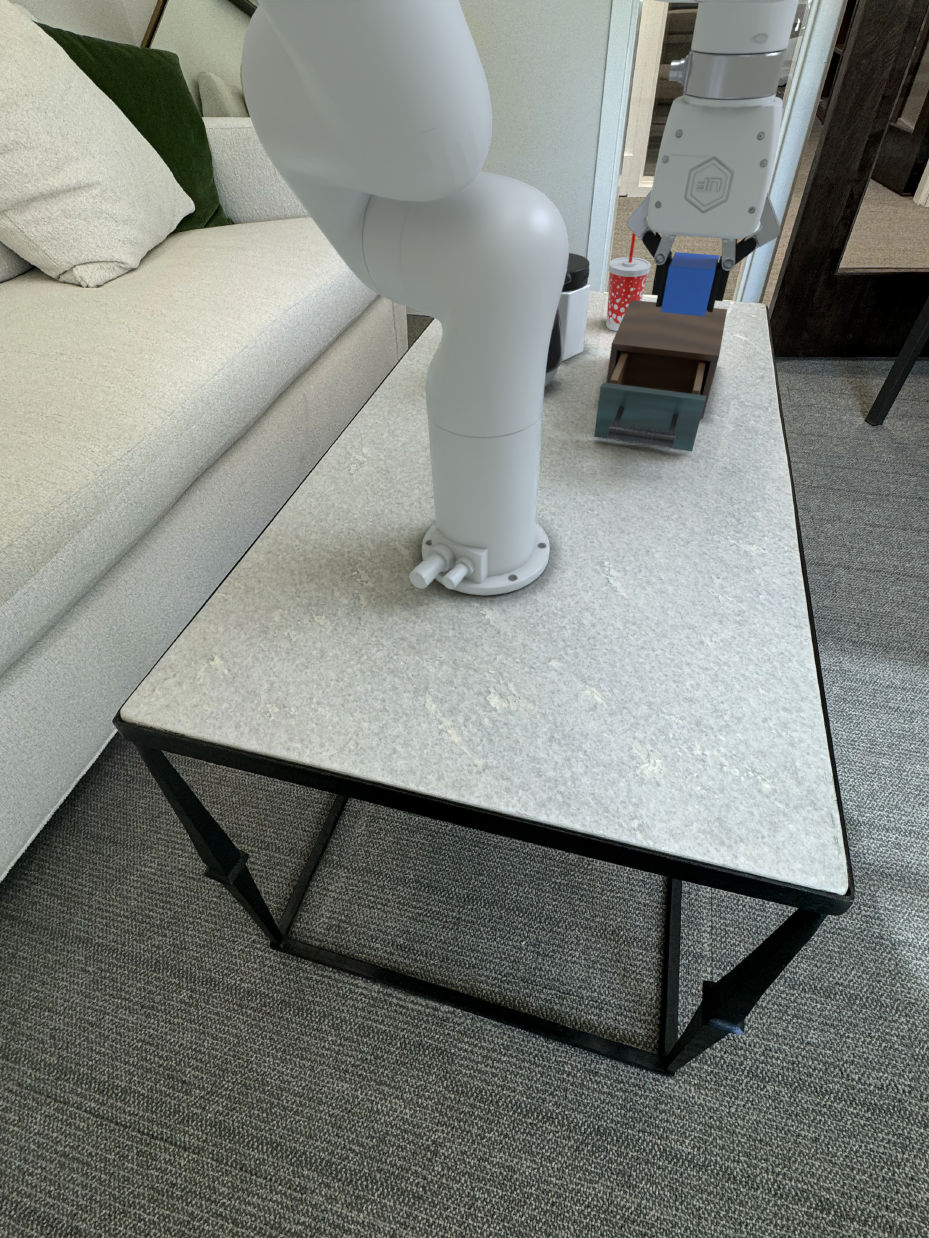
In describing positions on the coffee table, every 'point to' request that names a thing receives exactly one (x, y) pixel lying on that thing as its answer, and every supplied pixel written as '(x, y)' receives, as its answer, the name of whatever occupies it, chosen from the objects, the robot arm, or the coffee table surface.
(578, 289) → the jar
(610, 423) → the drawer
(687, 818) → the coffee table surface
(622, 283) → the beverage cup
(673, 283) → the blue block
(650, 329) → the cabinet
